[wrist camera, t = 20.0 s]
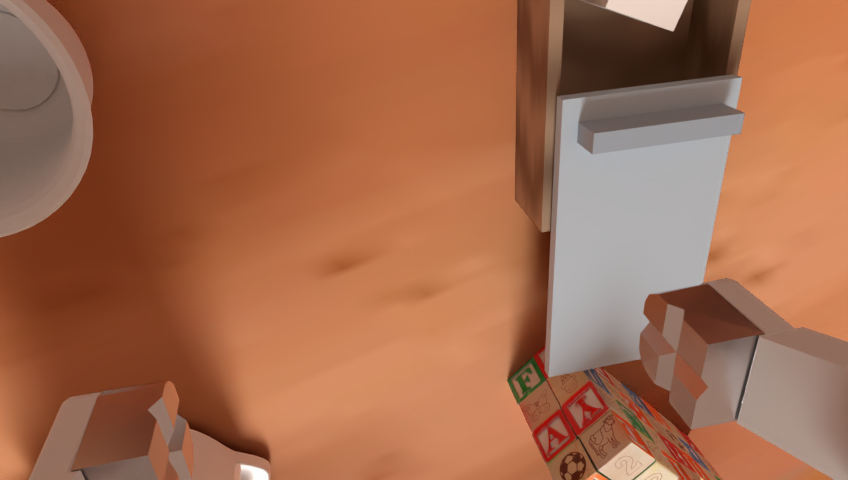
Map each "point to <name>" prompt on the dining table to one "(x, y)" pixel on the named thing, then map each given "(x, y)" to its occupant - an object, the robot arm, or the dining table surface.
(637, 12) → the cube
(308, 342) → the dining table surface
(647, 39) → the box
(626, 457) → the stack of blocks
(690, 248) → the lid
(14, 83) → the teacup
